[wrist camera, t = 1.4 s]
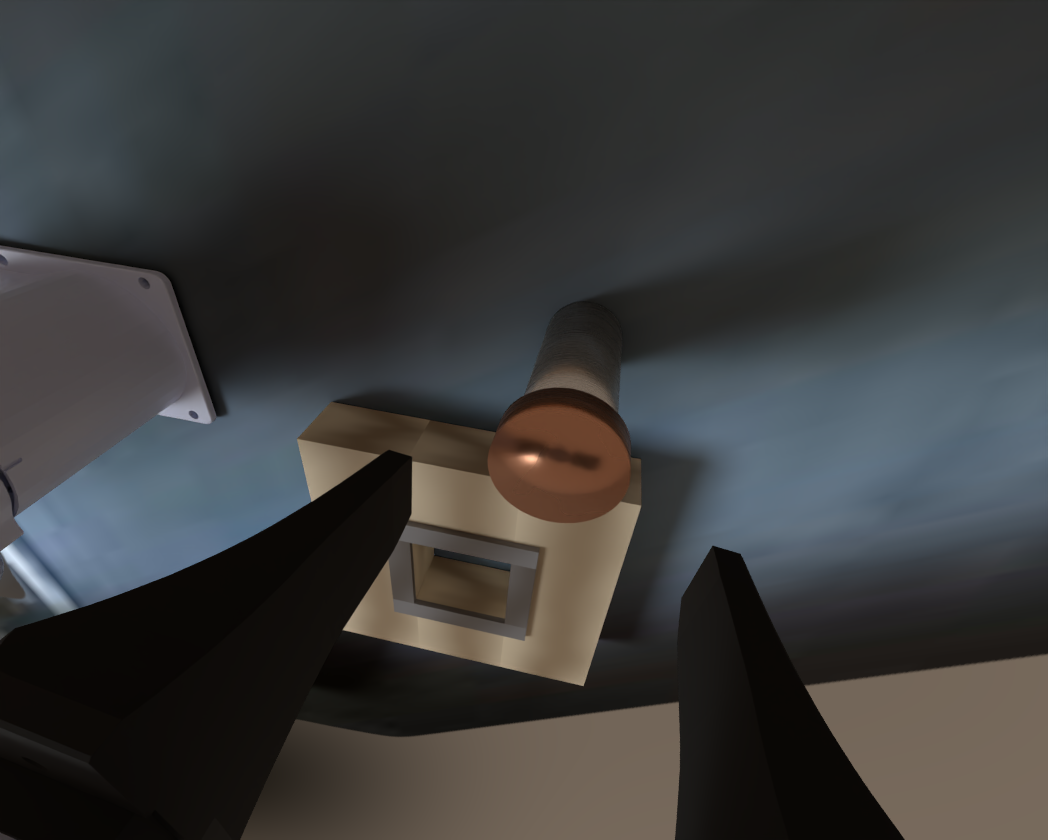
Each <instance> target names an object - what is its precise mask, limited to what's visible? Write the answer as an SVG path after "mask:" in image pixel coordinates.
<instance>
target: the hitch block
mask: <svg viewBox="0 0 1048 840" xmlns="http://www.w3.org/2000/svg"><path fill="white" fill-rule="evenodd" d="M495 433H496V432H491V431H486V430H480V429H475V428H469V427H464V426H459V425H453V424H448V423H442V422H437V421H432V420H426V419H421V418H415V417H410V416H405V415H399V414H394V413H388V412H383V411H378V410H372V409H367V408H361V407H356V406H351V405H345V404H340V403H334V402H331V403H330V404H329V405H328V406H327V407H326V408H325V409H324V410H323V411H322V412H321V413H320V415H319V416H318V417H317V418H316V419H315V420H314V421H313V422H312V423H311V424H310V425H309V426H308V428H307V429H306V430H305V431H304V432H303V433H302V434H301V435H300V436H299V437H298V438H297V441H298V445H299V449H300V453H301V458H302V462H303V466H304V471H305V475H306V479H307V484H308V488H309V492H310V496H311V501H314V500H315V499H317V498H318V497H320V496H321V495H323V494H324V493H326V492H327V491H329V490H330V489H332V488H333V487H335V486H336V485H338V484H339V483H341V482H342V481H344V480H345V479H347V478H348V477H350V476H351V475H352V474H354V473H355V472H357V471H358V470H360V469H361V468H362V467H364V466H365V465H367V464H368V463H370V462H371V461H372V460H374V459H375V458H377V457H378V456H380V455H381V454H382V453H384V452H385V451H387V450H392V451H395V452H399V453H402V454H405V455H409V456H412V514H411V516H410V518H409V521H408V523H407V525H406V527H405V529H404V531H403V533H402V535H401V537H400V539H399V541H398V543H397V545H396V547H395V549H394V551H393V553H392V554H391V556H390V557H389V559H388V561H387V562H386V564H385V565H384V567H383V568H382V570H381V571H380V573H379V575H378V576H377V578H376V579H375V581H374V582H373V584H372V585H371V587H370V589H369V590H368V592H367V593H366V595H365V596H364V598H363V599H362V601H361V602H360V604H359V606H358V607H357V609H356V610H355V612H354V613H353V615H352V616H351V618H350V619H349V621H348V622H347V624H346V626H345V627H344V629H343V630H345V631H349V632H354V633H358V634H362V635H367V636H371V637H375V638H379V639H384V640H388V641H392V642H397V643H401V644H405V645H410V646H414V647H418V648H422V649H427V650H431V651H435V652H440V653H444V654H448V655H453V656H457V657H461V658H465V659H470V660H474V661H478V662H483V663H487V664H491V665H496V666H500V667H504V668H508V669H513V670H517V671H521V672H526V673H530V674H534V675H539V676H543V677H547V678H551V679H556V680H560V681H564V682H569V683H573V684H577V685H582V686H584V682H585V679H586V676H587V673H588V670H589V667H590V664H591V661H592V658H593V655H594V651H595V648H596V645H597V642H598V639H599V636H600V633H601V630H602V627H603V623H604V620H605V617H606V614H607V611H608V608H609V605H610V602H611V599H612V596H613V592H614V589H615V586H616V583H617V580H618V577H619V574H620V571H621V568H622V564H623V561H624V558H625V555H626V552H627V549H628V546H629V543H630V540H631V537H632V533H633V530H634V527H635V524H636V521H637V518H638V515H639V512H640V509H641V459H637V458H632V457H631V475H630V484H629V487H628V490H627V493H626V494H625V496H624V498H623V499H622V500H621V502H620V503H619V504H618V505H617V506H616V507H615V508H614V509H612V510H611V511H609V512H608V513H606V514H604V515H602V516H600V517H598V518H595V519H593V520H589V521H585V522H578V523H556V522H550V521H545V520H541V519H538V518H535V517H532V516H530V515H528V514H526V513H524V512H522V511H520V510H519V509H517V508H516V507H514V506H513V505H511V504H510V503H509V502H508V501H507V500H506V499H504V497H503V496H502V495H501V494H500V493H499V492H498V490H497V489H496V487H495V486H494V484H493V482H492V480H491V477H490V474H489V470H488V453H489V449H490V446H491V444H492V441H493V438H494V436H495ZM434 548H437V549H442V550H447V551H451V552H456V553H461V554H466V555H470V556H475V557H480V558H485V559H489V560H494V561H499V562H504V563H508V564H511V570H510V572H509V571H504V570H500V569H495V568H490V567H486V566H481V565H476V564H471V563H467V562H462V561H457V560H453V559H448V558H443V557H439V556H434Z"/></svg>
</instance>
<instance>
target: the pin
mask: <svg viewBox="0 0 1048 840" xmlns="http://www.w3.org/2000/svg"><path fill="white" fill-rule="evenodd" d="M621 355H622V330H621V326H620V324H619V322H618V320H617V318H616V317H615V316H614V315H613V313H611V312H610V311H609V310H608V309H606V308H605V307H603V306H601V305H599V304H596V303H591V302H576V303H572V304H569V305H567V306H565V307H563V308H562V309H560V310H559V311H558V312H557V313H556V314H555V315H554V316H553V317H552V319H551V321H550V323H549V325H548V328H547V331H546V334H545V337H544V340H543V342H542V345H541V348H540V351H539V354H538V357H537V360H536V363H535V366H534V368H533V371H532V374H531V377H530V380H529V383H528V386H527V389H526V392H525V394H524V396H522V397H520V398H519V399H518V400H516V401H515V402H514V403H513V404H511V405H510V406H509V407H508V409H507V410H506V411H505V413H504V414H503V416H502V418H501V420H500V423H499V426H498V428H497V431H496V433H495V436H494V438H493V441H492V444H491V446H490V449H489V453H488V470H489V474H490V477H491V480H492V482H493V484H494V486H495V487H496V489H497V490H498V492H499V493H500V494H501V495H502V496H503V497H504V499H506V500H507V501H508V502H509V503H510V504H511V505H513V506H514V507H516V508H517V509H519V510H520V511H522V512H524V513H526V514H528V515H530V516H532V517H535V518H538V519H541V520H545V521H550V522H556V523H578V522H585V521H589V520H593V519H595V518H598V517H600V516H602V515H604V514H606V513H608V512H609V511H611V510H612V509H614V508H615V507H616V506H617V505H618V504H619V503H620V502H621V500H622V499H623V498H624V496H625V494H626V493H627V490H628V487H629V484H630V475H631V440H630V435H629V431H628V428H627V426H626V424H625V422H624V421H623V419H622V418H621V417H620V415H619V414H618V409H619V391H620V373H621Z"/></svg>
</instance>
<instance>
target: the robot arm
mask: <svg viewBox="0 0 1048 840" xmlns="http://www.w3.org/2000/svg"><path fill="white" fill-rule="evenodd" d="M147 281H148V282H149V283H148V282H147ZM157 414H158V415H163V416H168V417H173V418H179V419H184V420H189V421H194V422H199V423H204V424H210V423H212V422H213V421H214V420H215V419H216V413H215V410H214V407H213V404H212V401H211V398H210V395H209V392H208V389H207V387H206V384H205V381H204V378H203V375H202V372H201V369H200V366H199V363H198V360H197V357H196V354H195V352H194V349H193V346H192V343H191V340H190V337H189V334H188V331H187V328H186V325H185V322H184V319H183V317H182V314H181V311H180V308H179V305H178V302H177V299H176V296H175V293H174V290H173V287H172V284H171V282H170V280H169V279H168V278H167V277H166V276H165V275H164V274H163V273H161V272H158V271H154V270H148V269H141V268H135V267H129V266H123V265H117V264H111V263H105V262H99V261H93V260H86V259H80V258H74V257H68V256H62V255H56V254H50V253H44V252H38V251H31V250H25V249H19V248H13V247H7V246H1V245H0V551H1V550H3V549H4V548H5V547H7V546H8V545H9V544H11V543H12V542H13V541H15V540H16V539H17V538H19V537H20V536H21V535H23V530H22V529H21V528H20V527H19V526H18V524H17V523H16V521H15V519H14V517H15V516H17V515H18V514H20V513H21V512H22V511H24V510H25V509H26V508H28V507H29V506H31V505H32V504H33V503H35V502H36V501H38V500H39V499H40V498H42V497H43V496H45V495H46V494H47V493H49V492H50V491H52V490H53V489H54V488H56V487H57V486H58V485H60V484H61V483H63V482H64V481H65V480H67V479H68V478H70V477H71V476H72V475H74V474H75V473H77V472H78V471H79V470H81V469H82V468H84V467H85V466H86V465H88V464H89V463H90V462H92V461H93V460H95V459H96V458H97V457H99V456H100V455H102V454H103V453H104V452H106V451H107V450H109V449H110V448H111V447H113V446H114V445H116V444H117V443H118V442H120V441H121V440H122V439H124V438H125V437H127V436H128V435H129V434H131V433H132V432H134V431H135V430H136V429H138V428H139V427H141V426H142V425H143V424H145V423H146V422H148V421H149V420H150V419H152V418H153V417H154V416H156V415H157ZM411 514H412V456H409V455H405V454H402V453H399V452H395V451H392V450H387V451H385V452H384V453H382V454H381V455H380V456H378V457H377V458H375V459H374V460H372V461H371V462H370V463H368V464H367V465H365V466H364V467H362V468H361V469H360V470H358V471H357V472H355V473H354V474H352V475H351V476H350V477H348V478H347V479H345V480H344V481H342V482H341V483H339V484H338V485H336V486H335V487H333V488H332V489H330V490H329V491H327V492H326V493H324V494H323V495H321V496H320V497H318V498H317V499H315V500H314V501H312V502H310V503H309V504H307V505H306V506H304V507H302V508H301V509H299V510H297V511H296V512H294V513H292V514H291V515H289V516H287V517H286V518H284V519H282V520H280V521H279V522H277V523H275V524H274V525H272V526H270V527H268V528H267V529H265V530H263V531H261V532H259V533H258V534H256V535H254V536H252V537H250V538H248V539H246V540H244V541H242V542H240V543H238V544H236V545H234V546H232V547H230V548H228V549H226V550H224V551H222V552H220V553H218V554H216V555H214V556H212V557H209V558H207V559H205V560H203V561H201V562H198V563H196V564H194V565H192V566H190V567H187V568H185V569H183V570H180V571H178V572H176V573H174V574H171V575H169V576H166V577H164V578H161V579H159V580H156V581H153V582H151V583H148V584H146V585H143V586H140V587H138V588H135V589H133V590H130V591H127V592H125V593H122V594H119V595H117V596H114V597H111V598H108V599H106V600H103V601H100V602H97V603H94V604H91V605H88V606H85V607H82V608H79V609H76V610H72V611H69V612H66V613H63V614H60V615H57V616H53V617H50V618H47V619H44V620H41V621H38V622H34V623H31V624H28V625H24V626H21V627H18V628H15V629H13V630H12V631H11V632H10V633H8V634H7V635H6V636H5V637H3V638H2V639H1V640H0V840H240V838H241V836H242V834H243V832H244V829H245V827H246V824H247V822H248V820H249V818H250V816H251V814H252V811H253V809H254V807H255V805H256V802H257V800H258V798H259V796H260V794H261V791H262V789H263V787H264V784H265V782H266V780H267V778H268V776H269V774H270V772H271V769H272V767H273V765H274V763H275V761H276V759H277V757H278V755H279V753H280V750H281V748H282V746H283V744H284V742H285V740H286V738H287V736H288V734H289V732H290V730H291V727H292V725H293V723H294V721H295V719H296V717H297V715H298V713H299V711H300V709H301V707H302V705H303V703H304V701H305V699H306V697H307V695H308V693H309V691H310V689H311V687H312V686H313V684H314V682H315V680H316V678H317V676H318V674H319V672H320V670H321V668H322V666H323V664H324V663H325V661H326V659H327V657H328V655H329V653H330V651H331V649H332V647H333V645H334V644H335V642H336V640H337V639H338V637H339V635H340V634H341V632H342V630H343V629H344V627H345V626H346V624H347V622H348V621H349V619H350V618H351V616H352V615H353V613H354V612H355V610H356V609H357V607H358V606H359V604H360V602H361V601H362V599H363V598H364V596H365V595H366V593H367V592H368V590H369V589H370V587H371V585H372V584H373V582H374V581H375V579H376V578H377V576H378V575H379V573H380V571H381V570H382V568H383V567H384V565H385V564H386V562H387V561H388V559H389V557H390V556H391V554H392V553H393V551H394V549H395V547H396V545H397V543H398V541H399V539H400V537H401V535H402V533H403V531H404V529H405V527H406V525H407V523H408V521H409V518H410V516H411ZM3 569H4V563H3V559H2V556H1V555H0V579H1V577H2V575H3ZM677 645H678V688H679V722H680V776H679V792H678V808H677V823H676V835H675V840H904V838H903V837H902V835H901V834H900V832H899V831H898V830H897V828H896V827H895V825H894V824H893V823H892V821H891V820H890V819H889V817H888V816H887V815H886V813H885V812H884V810H883V809H882V808H881V806H880V805H879V803H878V802H877V801H876V799H875V798H874V796H873V795H872V794H871V792H870V791H869V790H868V788H867V786H866V785H865V783H864V782H863V781H862V779H861V778H860V776H859V775H858V773H857V772H856V770H855V769H854V767H853V766H852V764H851V762H850V761H849V759H848V758H847V756H846V755H845V753H844V752H843V750H842V749H841V747H840V745H839V744H838V742H837V741H836V739H835V737H834V736H833V734H832V733H831V731H830V729H829V728H828V726H827V724H826V723H825V721H824V719H823V717H822V716H821V714H820V712H819V711H818V709H817V707H816V706H815V704H814V702H813V700H812V698H811V697H810V695H809V693H808V691H807V690H806V688H805V686H804V684H803V682H802V680H801V679H800V677H799V675H798V673H797V671H796V669H795V667H794V665H793V664H792V662H791V660H790V658H789V656H788V654H787V652H786V650H785V648H784V646H783V644H782V642H781V640H780V638H779V636H778V634H777V632H776V630H775V628H774V626H773V624H772V621H771V619H770V617H769V615H768V613H767V611H766V609H765V607H764V604H763V602H762V600H761V598H760V596H759V593H758V591H757V589H756V587H755V585H754V582H753V580H752V578H751V576H750V573H749V571H748V569H747V566H746V564H745V562H744V560H743V558H742V556H741V554H739V553H736V552H732V551H729V550H726V549H722V548H719V547H716V546H712V548H711V549H710V551H709V553H708V554H707V556H706V558H705V559H704V561H703V563H702V564H701V566H700V568H699V569H698V571H697V573H696V575H695V576H694V578H693V580H692V581H691V583H690V585H689V586H688V588H687V590H686V591H685V593H684V595H683V596H682V599H681V608H680V618H679V629H678V641H677Z"/></svg>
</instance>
